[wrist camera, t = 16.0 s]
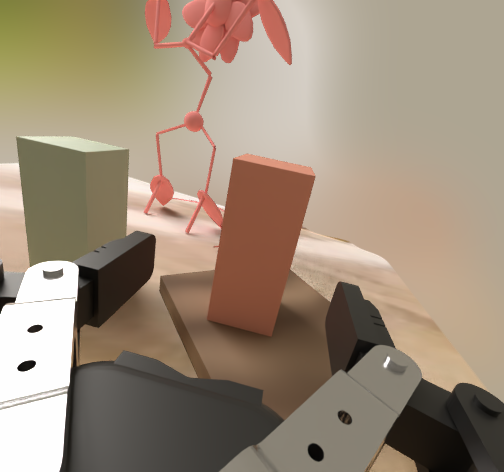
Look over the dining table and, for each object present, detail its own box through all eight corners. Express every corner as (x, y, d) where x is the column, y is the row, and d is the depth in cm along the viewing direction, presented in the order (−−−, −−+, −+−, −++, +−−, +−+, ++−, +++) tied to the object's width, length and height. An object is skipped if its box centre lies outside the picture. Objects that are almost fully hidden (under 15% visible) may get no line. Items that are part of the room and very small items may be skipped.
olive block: (88, 304, 22) (85, 152, 18) (32, 289, 23) (16, 136, 19) (124, 275, 27) (129, 149, 23) (77, 263, 27) (72, 136, 23)
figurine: (229, 257, 35) (302, -119, 23) (108, 199, 47) (115, -71, 35) (283, 235, 48) (348, -16, 36) (177, 193, 59) (200, -6, 48)
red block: (271, 336, 21) (315, 176, 16) (206, 319, 21) (233, 158, 17) (275, 299, 25) (311, 167, 21) (222, 286, 26) (246, 153, 21)
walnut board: (159, 290, 26) (160, 275, 25) (278, 274, 33) (281, 262, 33) (240, 471, 14) (246, 450, 13) (400, 381, 21) (408, 366, 21)
